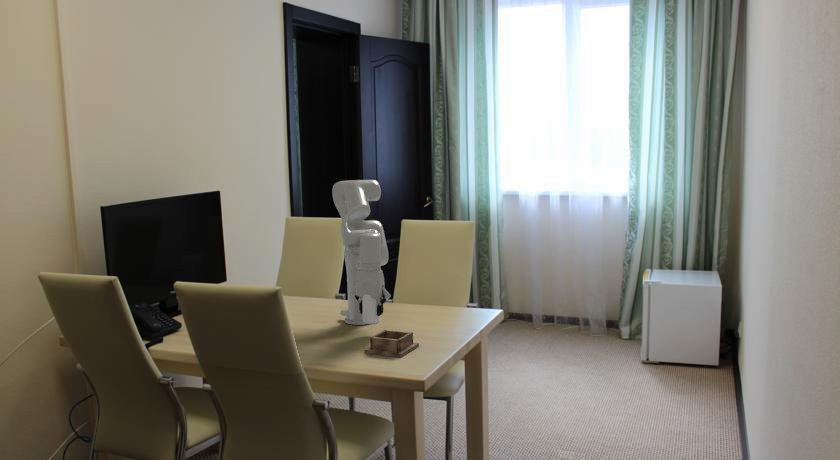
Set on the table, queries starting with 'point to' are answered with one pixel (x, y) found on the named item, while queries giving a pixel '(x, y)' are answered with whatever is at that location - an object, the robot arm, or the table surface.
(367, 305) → the can
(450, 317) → the table surface
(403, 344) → the holder
